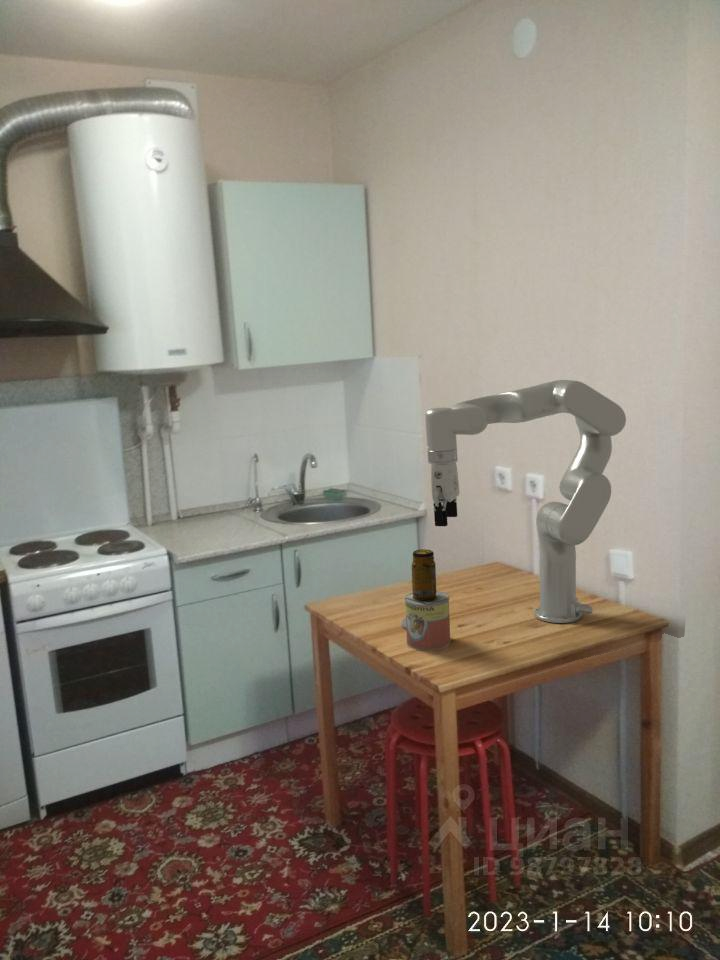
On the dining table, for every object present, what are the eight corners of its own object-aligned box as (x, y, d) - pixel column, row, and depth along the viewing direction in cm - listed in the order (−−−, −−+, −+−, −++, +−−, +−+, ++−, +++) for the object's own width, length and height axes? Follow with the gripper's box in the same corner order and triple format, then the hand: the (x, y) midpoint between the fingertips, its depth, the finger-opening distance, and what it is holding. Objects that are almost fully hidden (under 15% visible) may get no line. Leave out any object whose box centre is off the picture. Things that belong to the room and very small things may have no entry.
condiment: (425, 591, 206) (423, 546, 204) (448, 598, 199) (447, 552, 197) (404, 597, 201) (402, 552, 199) (427, 605, 195) (426, 558, 193)
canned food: (397, 644, 202) (395, 599, 200) (423, 631, 210) (421, 587, 208) (433, 654, 195) (432, 607, 193) (459, 639, 203) (457, 595, 201)
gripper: (447, 462, 193) (451, 530, 196) (465, 450, 208) (468, 513, 212) (418, 462, 195) (422, 529, 199) (437, 451, 211) (441, 513, 214)
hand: (446, 521), depth 205 cm, fingers open, 9 cm apart
